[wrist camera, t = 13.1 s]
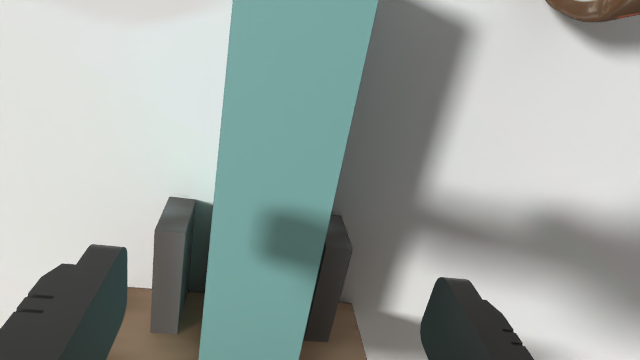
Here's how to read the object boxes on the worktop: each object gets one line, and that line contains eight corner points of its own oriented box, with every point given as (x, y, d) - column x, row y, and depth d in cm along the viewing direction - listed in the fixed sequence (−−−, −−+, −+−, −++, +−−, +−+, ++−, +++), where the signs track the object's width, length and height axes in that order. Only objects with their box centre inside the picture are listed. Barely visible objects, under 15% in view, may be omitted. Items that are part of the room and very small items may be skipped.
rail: (347, -30, 17) (386, -36, 12) (286, 288, 23) (294, 380, 18) (247, -51, 16) (239, -69, 11) (212, 283, 23) (196, 377, 17)
